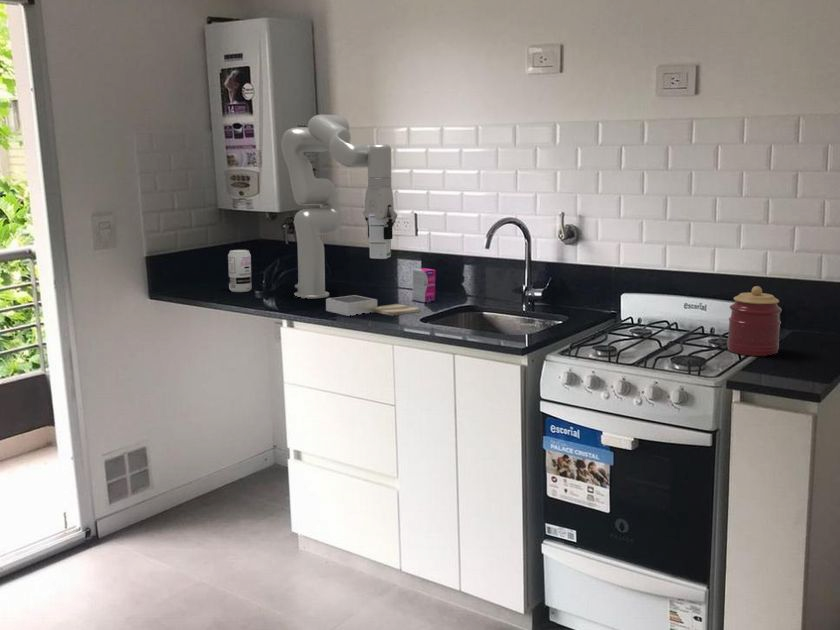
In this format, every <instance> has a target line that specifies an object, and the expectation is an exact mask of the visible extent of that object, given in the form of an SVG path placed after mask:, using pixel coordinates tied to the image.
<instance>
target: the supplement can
mask: <svg viewBox="0 0 840 630" xmlns="http://www.w3.org/2000/svg"><path fill="white" fill-rule="evenodd" d="M251 258H252V255H251V253H250V250H247V249H233V250H232V249H231V250H229V253H228V254H227V260H228V261H227V264H228V265H227V267H228V288H229V290H230V291H231V292H233V293H246V292H250V291H251V290H252V289H253V288H252V287H253V286H252V259H251Z"/></svg>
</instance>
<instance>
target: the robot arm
mask: <svg viewBox="0 0 840 630" xmlns="http://www.w3.org/2000/svg"><path fill="white" fill-rule="evenodd" d="M351 136H352V135H351V132H350V125H349V122H348V120H347V118H345V117H344V116H343V115H340V114H317V115H314V116H312V117H311V118H310V120H309V121H308V123H307V127H306V126H305V127H302V126H301V127H300V126H298V127H291V128H289V129H287V130H286V131H285V132H284V133H283V135H282V138H281V143H280V145H281V153H282V156H283V158H284V161H285V164H286V166H287V169H288V174H289V179H290V185H291V189H292V194H293V199H294V202H295V203H296V204H297V205H299V206H319V207H311V208H304V209H300V210H299V211H298V212H296V214H295V215H294V219H293V225H294V229H295V234H296V242H297V271H298V273H297V276H298V277H297V278H298V282H297V284H295V285H294V288H295V289H297V291H296V292H294V295H295V296H297V297H301V298H300V299H305V298H307V299H308V300H311V299H312V300H314V299H316V300H317V299H324V298H329V296H330V292H328V291H326V281H325V279H326V276H325V275H326V273H325V272H326V270H325V267H326V265H325V256H326V255H325V246H324V245H325V244H324V243H323V241H322V239H321V237H320V236H321V235H332V234H336V233H339V230H340V229H341V227H342V214H341V209H340V205H339V198H338V194H337V188H336V187H335V184H334V183H333V182H332V181H331V180H330V179H328V178H322V177H321V178H320V177H319V178H317V177H315V175H314V170H313V165H312V163H311V162H310V160H309V159H308V158H307V156H306V155H305V154H304V153H321V152H322V153H324V152H328V151H329V154H330V156H331V159H333V160H334V161H336V162H337V163H338V164H340V165H342V166H343V167H346V168H367V188H366V191H365V199H364V210H363V213H362V214H363V216H364V219H365V221H366V225H367V238H369V214H374V215H375V218H376V219H383V222H384V225H385V227H384V239H385V240H386V239H391V240H392V239H393V227H394V225H395V223H396V220H397V217H398V213H397V212H396V211H395V210H394V209H395V206H394V196H393V195H394V194H393V189H392V147H391V146H390V145H389V144H383V143H382V144H380V143H379V144H377V143H376V144H374V143H373V144H372V143H351V139H352V138H351ZM386 216H387V217H386ZM387 220H388V222H387ZM295 296H294V297H295ZM297 297H296V298H297Z"/></svg>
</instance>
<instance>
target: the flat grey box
mask: <svg viewBox="0 0 840 630" xmlns="http://www.w3.org/2000/svg"><path fill="white" fill-rule="evenodd" d="M377 307H378V299H376V298H371V297H367V296H361V295H357V294H353V295H346V296H338V297H329V296H328V297H326V299H325V312H329V313H335V314H337V315H343V316H345V317H346V316H348V317H351V316H357V315H356V314H358V315H363V314H362V313H365V314H370V312H371V313H376V312H375V309H377ZM350 315H351V316H350Z"/></svg>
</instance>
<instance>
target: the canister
mask: <svg viewBox="0 0 840 630" xmlns="http://www.w3.org/2000/svg"><path fill="white" fill-rule="evenodd" d="M733 300H734V303H732V304H730V305H729V310H731V313H730V317H729V318H728V323H729V324H728V336H727V340H726V341H727V343H726V344H727V345H726V346H727V351H729V352H730V353H733V354H738V355H744V356H749V357H768V356H767V355H772V354H775V353H777V354H778V351H779V348H780V347H779V346H780V344H779V343H780V342H779V340H780V329H781V327H780V326H781V324H782V321H781V320H780V313H782V310H783V309H782V308H781V307H780V306H779V305H778V304H779V303H780V300H779V299H778V298H776V297H775V296H774V295H773V294H769V293H765V292H764V293H763V289H762V288H761V286H759V285H756V286H755V285H754V286H753V287H752V288H751V292H741V293H739V294H738V295H736V296H734V297H733ZM775 355H776V354H775ZM772 356H773V355H772Z"/></svg>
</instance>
